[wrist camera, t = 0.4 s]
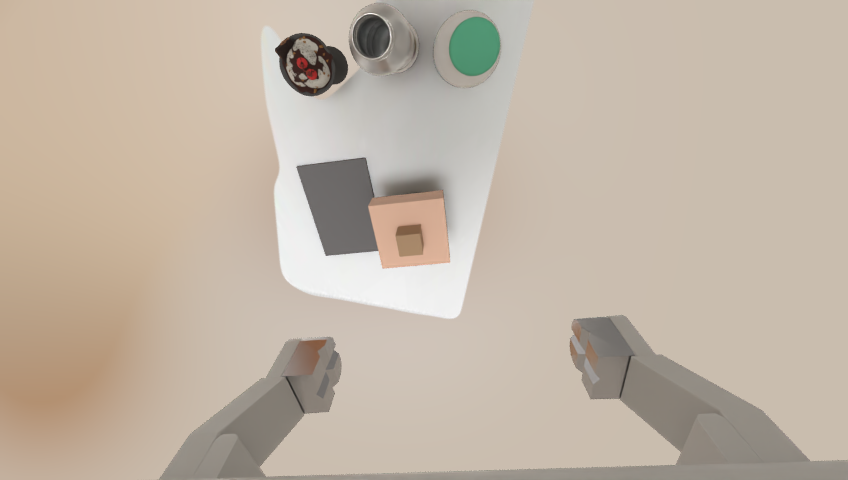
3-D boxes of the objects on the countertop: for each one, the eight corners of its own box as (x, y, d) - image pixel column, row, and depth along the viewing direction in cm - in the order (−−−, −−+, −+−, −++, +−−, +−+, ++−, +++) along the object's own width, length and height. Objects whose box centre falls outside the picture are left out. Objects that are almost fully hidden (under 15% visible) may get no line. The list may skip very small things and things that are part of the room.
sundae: (360, 84, 48) (331, 92, 35) (318, 94, 49) (275, 105, 36) (345, 34, 45) (308, 21, 32) (302, 45, 46) (247, 38, 32)
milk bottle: (490, 23, 43) (527, -5, 26) (483, 85, 47) (510, 97, 30) (435, 20, 44) (434, -10, 26) (432, 82, 47) (429, 92, 30)
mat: (297, 166, 54) (296, 167, 54) (365, 157, 53) (364, 158, 53) (326, 254, 63) (325, 255, 62) (385, 248, 62) (385, 250, 61)
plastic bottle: (428, 55, 46) (423, 50, 28) (389, 82, 48) (362, 92, 30) (404, 9, 43) (382, -29, 26) (364, 38, 45) (318, 22, 27)
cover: (372, 198, 49) (364, 214, 43) (442, 190, 48) (443, 206, 42) (385, 257, 54) (379, 279, 48) (449, 251, 53) (450, 273, 47)
